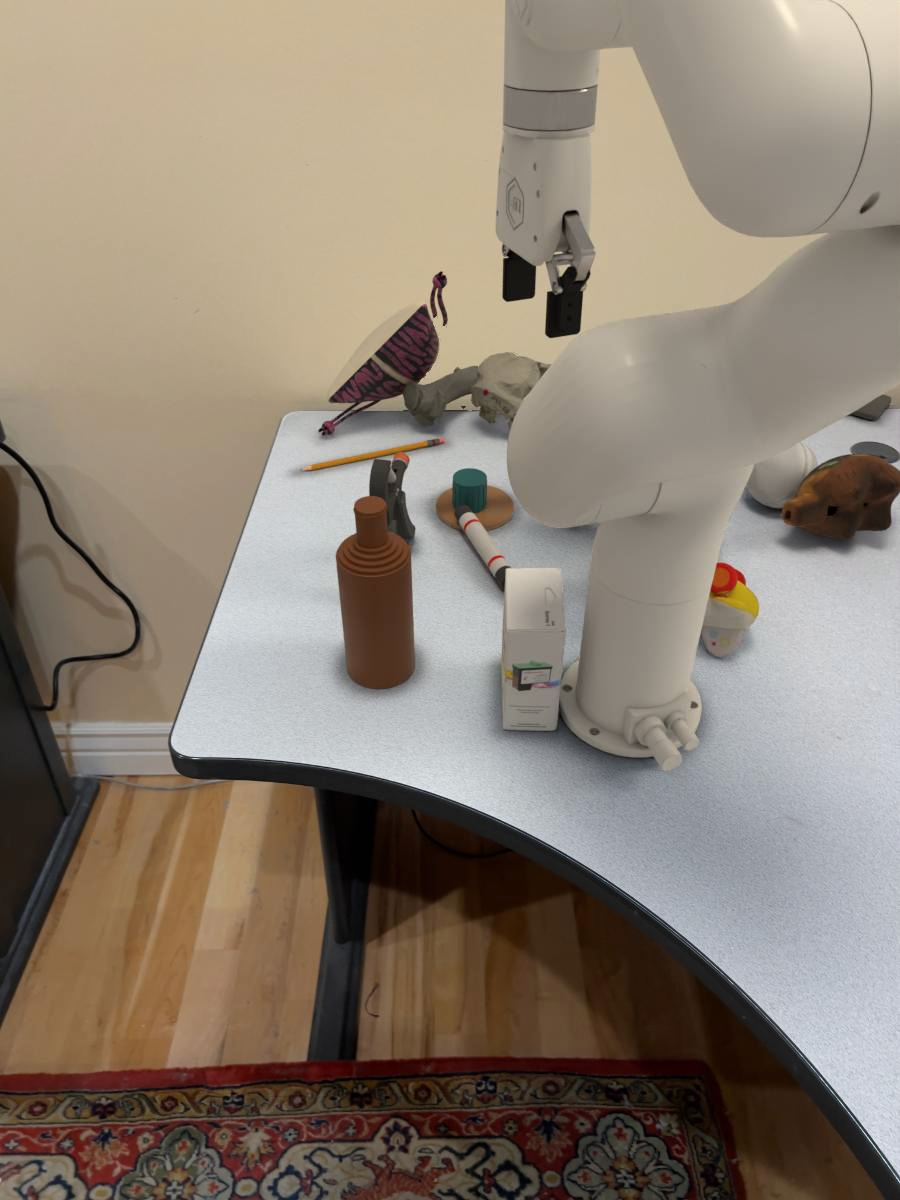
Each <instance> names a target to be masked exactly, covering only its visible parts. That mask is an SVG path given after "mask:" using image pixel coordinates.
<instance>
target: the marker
mask: <svg viewBox="0 0 900 1200" xmlns="http://www.w3.org/2000/svg"><path fill="white" fill-rule="evenodd" d="M454 515H455V517H456V519H457V520H458V522H459V524H460V526H461V527H462V529H463V530H462V531H463V532H464V534H465V535H466V536H467V538H468V539H469V541H470V542H471V544H472V545H473V547H474V548H475V550H476V551H477V553H478V554H479V556H480V558H481V559H482V561H483V562H484V563H485V565H486V566H487V568H488V570H489V571H490V572H491V574H492V575H493V577H494V579H495V580H496V581H497V583H498V584H499V586H500V587H501V588H502V589H503V590H505V574H506V569H507V568H512V566H511V564H509V562H508V560H507V559H506V557H505V556H504V555H503V553H502V552H501V550H500V549H499V547H498V546H497V544H496V543H495V542H494V540H493V539H492V537H491V536H490V534H489V533H488V531H486V530H485V529H484V527H483V526H482V524H481V523H480V521H479V520H478V518H477V517H476V516H475V514H474V513H473V512H472V510H471V509H470V508H469V506H467V505H462V506H459V507H458V508H457V509H456V510H455V513H454Z"/></svg>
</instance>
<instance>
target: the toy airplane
mask: <svg viewBox="0 0 900 1200" xmlns="http://www.w3.org/2000/svg"><path fill="white" fill-rule="evenodd" d="M759 613H760V603H759V600H758V597H757V595H755V593H754V592H753V590H752V589H750V588H749V587H748V586H747V581H746V577H745V575H744V574H743V573H742V571H740V570H738V569H737V568H734V566H732V565H731V564H729V563H726V562H717V565H716V569H715V573H714V578H713V581H712V585H711V590H710V594H709V599H708V603H707V607H706V612H705V616H704V621H703V625H702V630H701V634H700V636H701V637H702V640H703V643H704V645H705V647H706V649H707V651H708V652H709V653H710V654H711V655H712V656H714V657H717V658H726V657H728V656H730V655H731V654H732V653H734V652H735V650H736V649H737V647H738V646H739V644H740V642H741V641H742V639H743V637H744V635H745V632H746V630H747V629H748V628H750V627H751V626H752V625H753V624H754V623H755V621H756V620H757V617H758V616H759Z"/></svg>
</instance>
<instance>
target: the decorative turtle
mask: <svg viewBox="0 0 900 1200" xmlns="http://www.w3.org/2000/svg"><path fill="white" fill-rule="evenodd" d="M899 494H900V469H899V468H897V467H896V466H894V464H891V463H889V462H888V461H887V460H885V458H882V457H880V456H878V455H875V454H870V453H848V454H841V455H837V456H835V457H833V458H830V459H827V460H826V461H824V462H822V463H821V464H818V466H817V467H816V468H815V469H813V470H812V471H811V472H810V473H809V474H808V475H807V476H806V477H805V478H804V480H803V481H802V483H801V484H800V486H799V488H798V490H797V492H796V495H795V498H793V499H791V500H789V501H787V502H786V503H785V504H784V506H783V508H781V518H782V520H783V523H785V525H788V526H790V527H801V528H802V529H803V530H804V531H806V532H808V533H810V534H813V535H816V536H822V537H827V538H832V539H839V540H843V541H850V540H852V539H853V538H854V537H855V535H856V533H857V532H862V531H863V532H883V531H886V530H888V529H889V528H890V527H891V526H892V523H893V521H892V505H893V503H894V502H895V500H896V498H898V496H899Z"/></svg>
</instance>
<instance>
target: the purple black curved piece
mask: <svg viewBox="0 0 900 1200" xmlns="http://www.w3.org/2000/svg"><path fill="white" fill-rule="evenodd" d="M443 273H444V272H443V271H442V270H441V271H439V272H438V273H436V274H434V276H433V277H432V280H431V281H432V285H433V286H432V289H431V292H430V295H429V296H430V297H429V306H430V307H429V308H430V310H431V311H429V308H428V305H427V303H425V302H424V301H417V302H414V303H411V304H409V305H407V306H406V307H403V308H402V309H400V310H399V311H397V312H395V314H393V315H391V316H390V317H389V318H387V319H385V321H383V322H382V323H381V324H379V325H378V326H377V327H376V328H375V329H373V331H371V332H370V334H368V336H366V338H365V339H364V340H363V341H362V342H361V343H360V344H359V346H358V347H357V348H356V349H355V351H354V352H353V353H352V355H351V356H350V357H349V359H348V360H347V361H346V363H345V364H344V366H343V367H342V368H341V370H340V371H339V373H338V374H337V376H336V377H335V379H334V380H333V382H332V384H331V385H330V387H329V389H328V392H327V396H326V398H327V401H328V402H329V403H330V404H351V405H350V406H349V407H348V408H346V409H345V410H343V411H342V412H341V413H339V414H338V415H336V416H335V417H333V418H332V419H331V420H325V421H324V422H323V423H322V424H321V427H320V428H319V429H318V430H317V431H318V433H321V436H322V437H324V436H327V435H328V436H330V435H332V434H334V433H335V431H336V427H338V426H339V425H340V424H342V423H344V422H345V421H346V420H348V419H349V418H351V417H353V416H354V415H357V414H358V413H360V412H363V411H364V410H367V409H369V408H370V407H373V406H375V405H376V404H378V403H380V402H381V401H384V400H389V399H395V398H397V397H399V396H403V389H404V387H405V386H406V385H407V384H409V383H418V384H420V383H419V382H420V380H421V379H422V378H424V377H425V376H426V373H427V372H429V371H430V370H431V368H432V366H433V364H434V363H435V361H436V362H437V360H438V359H437V356H438V353H439V354H440V341H439V338H438V336H439V334H438V333H437V330H436V326H435V327H434V325H433V318H435V317H436V316H437V317H438V311H437V306H436V300H435V299H436V298H437V305H438V307H439V310H440V314H441V317H442V326H445V325H446V324H447V325H448V322H449V321H448V320H449V318H448V312H447V309H446V306H445V303H444V300H443V289H444V288H445V287H446V286H447V284H448V279H447V275H446V274H443ZM430 312H431V314H432V317H431V314H430ZM435 364H436V363H435ZM424 379H425V378H424ZM368 402H369V403H368ZM362 403H367V404H365V405H363V406H361V407H358V406H359V405H361V404H362ZM356 407H358V408H356ZM354 408H356V409H355V410H353V409H354ZM352 410H353V411H352Z"/></svg>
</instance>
